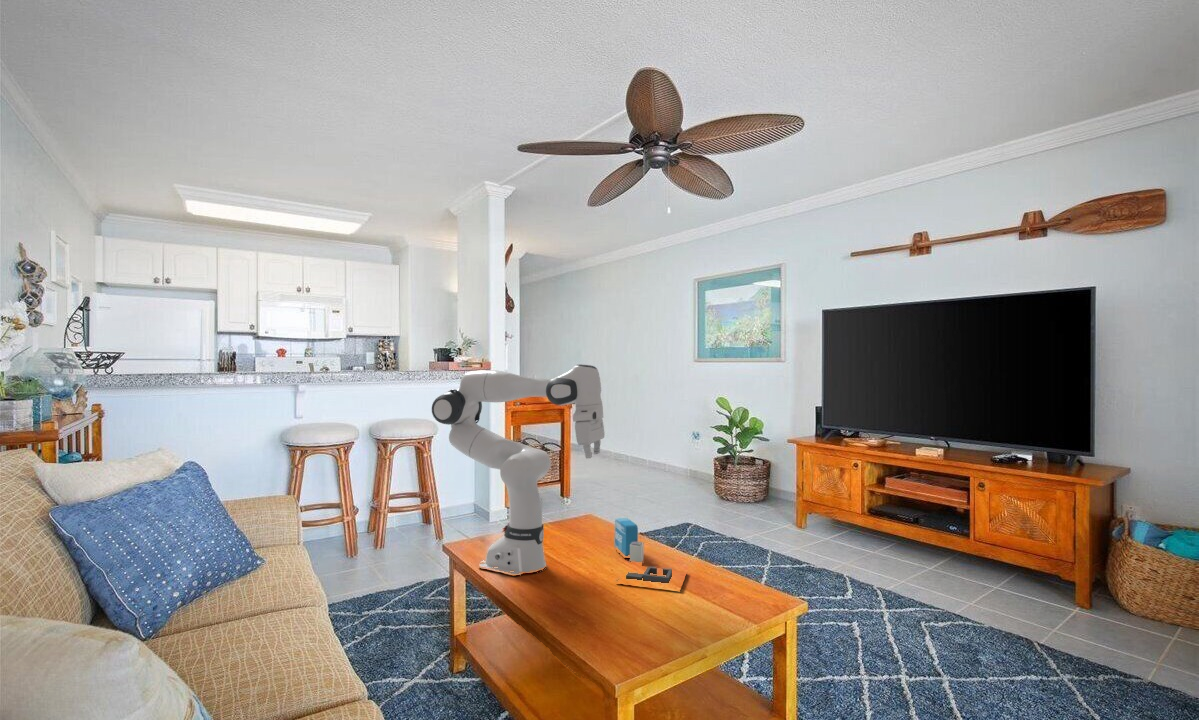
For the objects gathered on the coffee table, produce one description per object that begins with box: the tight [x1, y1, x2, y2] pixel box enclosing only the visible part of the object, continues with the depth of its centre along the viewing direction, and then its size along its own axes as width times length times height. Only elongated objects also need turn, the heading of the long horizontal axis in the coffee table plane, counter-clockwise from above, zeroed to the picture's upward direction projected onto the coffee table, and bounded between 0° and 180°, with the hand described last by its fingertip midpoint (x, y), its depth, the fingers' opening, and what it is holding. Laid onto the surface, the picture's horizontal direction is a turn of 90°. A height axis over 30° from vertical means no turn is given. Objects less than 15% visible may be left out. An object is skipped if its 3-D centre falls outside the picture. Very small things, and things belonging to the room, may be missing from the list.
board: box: [615, 566, 673, 583], centre depth 185 cm, size 20×16×3 cm
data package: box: [614, 517, 639, 556], centre depth 209 cm, size 12×4×12 cm, turn 18°
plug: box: [629, 541, 645, 562], centre depth 199 cm, size 4×4×7 cm
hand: (593, 455), depth 188 cm, fingers open, 8 cm apart
